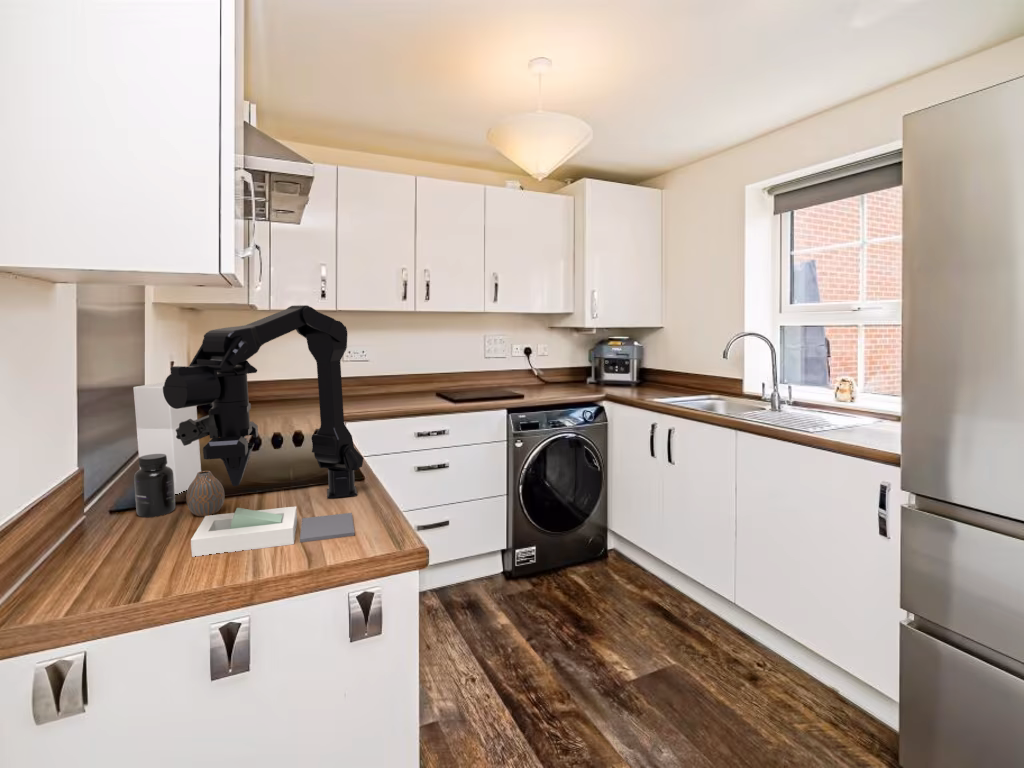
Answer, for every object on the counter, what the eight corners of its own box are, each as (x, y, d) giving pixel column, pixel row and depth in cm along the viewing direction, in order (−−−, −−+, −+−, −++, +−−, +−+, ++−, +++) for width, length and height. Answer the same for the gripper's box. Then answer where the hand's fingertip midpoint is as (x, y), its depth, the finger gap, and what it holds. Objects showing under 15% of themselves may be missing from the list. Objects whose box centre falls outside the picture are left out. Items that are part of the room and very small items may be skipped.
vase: (191, 509, 114) (188, 469, 113) (227, 505, 116) (225, 466, 115) (184, 521, 108) (180, 478, 107) (222, 516, 110) (220, 474, 109)
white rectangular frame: (206, 531, 102) (205, 515, 102) (297, 520, 107) (296, 506, 107) (192, 556, 91) (190, 539, 91) (293, 544, 96) (292, 528, 96)
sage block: (232, 522, 100) (237, 507, 100) (277, 530, 103) (282, 515, 103) (229, 530, 96) (233, 514, 96) (276, 538, 99) (280, 522, 99)
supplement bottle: (131, 519, 108) (126, 461, 107) (144, 508, 115) (139, 453, 113) (169, 516, 110) (165, 459, 109) (180, 505, 117) (176, 451, 115)
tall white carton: (141, 494, 124) (132, 386, 121) (169, 482, 133) (161, 382, 130) (176, 495, 123) (168, 387, 120) (202, 484, 132) (195, 382, 129)
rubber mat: (302, 521, 107) (302, 518, 107) (351, 515, 110) (351, 512, 110) (299, 542, 97) (299, 539, 97) (354, 535, 100) (354, 532, 100)
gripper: (191, 395, 102) (197, 475, 104) (163, 411, 84) (171, 507, 86) (256, 392, 105) (260, 470, 107) (242, 407, 88) (247, 499, 90)
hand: (236, 485), depth 98 cm, fingers closed
